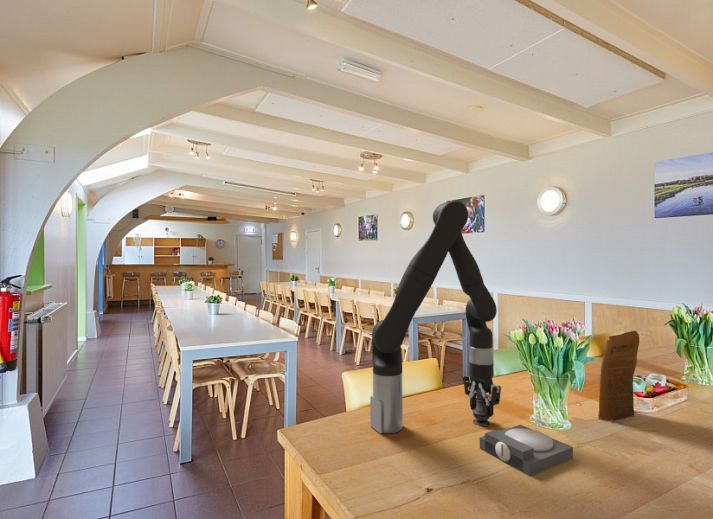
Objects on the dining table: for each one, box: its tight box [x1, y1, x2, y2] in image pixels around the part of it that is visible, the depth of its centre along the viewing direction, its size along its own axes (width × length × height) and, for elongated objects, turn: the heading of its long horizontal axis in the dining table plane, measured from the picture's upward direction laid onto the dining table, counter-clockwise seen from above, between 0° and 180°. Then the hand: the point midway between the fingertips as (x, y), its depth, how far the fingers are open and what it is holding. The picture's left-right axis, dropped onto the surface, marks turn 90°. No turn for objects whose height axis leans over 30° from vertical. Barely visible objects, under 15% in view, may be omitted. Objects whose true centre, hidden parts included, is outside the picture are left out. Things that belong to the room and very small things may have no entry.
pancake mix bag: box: [598, 330, 640, 421], centre depth 129 cm, size 7×19×28 cm, turn 112°
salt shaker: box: [471, 390, 491, 427], centre depth 125 cm, size 6×6×12 cm
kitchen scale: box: [479, 424, 574, 477], centre depth 105 cm, size 17×16×5 cm
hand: (481, 412), depth 125 cm, fingers closed on salt shaker, 6 cm apart
